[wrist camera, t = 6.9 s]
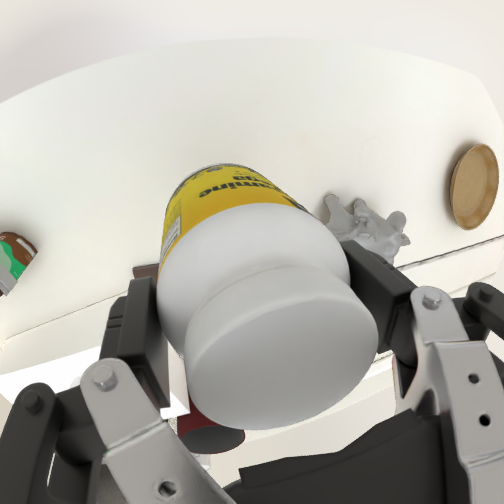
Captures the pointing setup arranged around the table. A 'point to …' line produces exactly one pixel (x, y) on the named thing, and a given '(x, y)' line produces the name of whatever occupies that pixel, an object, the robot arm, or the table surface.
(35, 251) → the food container
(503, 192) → the table surface
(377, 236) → the elephant statuette
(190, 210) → the pill bottle
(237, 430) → the mug
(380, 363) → the marker
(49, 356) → the tissue box
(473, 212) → the plant saucer
